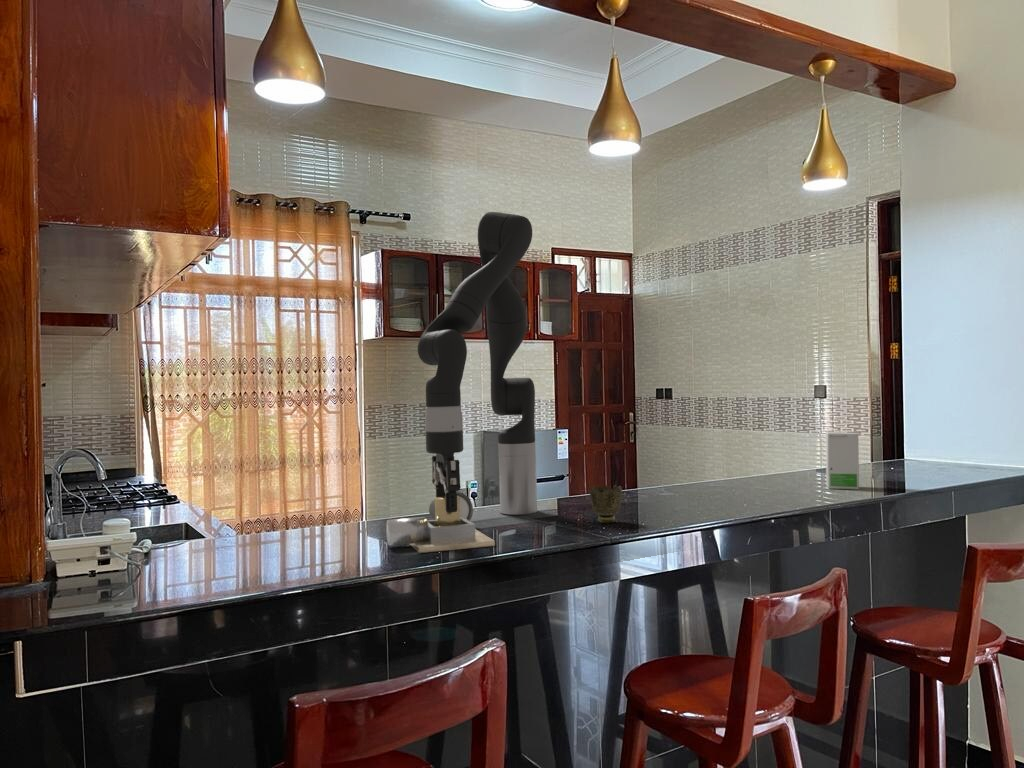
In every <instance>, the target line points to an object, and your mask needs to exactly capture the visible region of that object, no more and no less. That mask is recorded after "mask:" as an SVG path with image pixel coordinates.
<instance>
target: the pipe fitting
mask: <svg viewBox="0 0 1024 768" xmlns="http://www.w3.org/2000/svg"><path fill="white" fill-rule="evenodd" d="M450 485H453V484H450ZM434 489H435V490H436V489H437V488H435V487H434ZM457 496H458V497H460V518H463V517H464V518H465V519H467V520H469V521H470V522H471V519H472V517H473V514H474V508H473V503H472V500H471V498H470V497H469V496H468V495H467V494H465V493H463V492H459V491H458V493H457ZM428 512H429V513H428V514H429V515H430V518H431V520H436V519H435V498H434V499H433V500H431V503H430V504H429V508H428Z"/></svg>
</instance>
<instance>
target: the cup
mask: <svg viewBox="0 0 1024 768" xmlns="http://www.w3.org/2000/svg"><path fill="white" fill-rule="evenodd" d="M588 489H589V490H588V491H589V497H590V503H591V504H590V505H591V509H592V511H593V513H595V514H596V515H598V518H597V519H598V522H600V523H601V524H611V523H614V522H615V520H616V518H615V516H616V515H617V514H618V513H619V512H620V510H621V506H622V498H623V487H622V486H621V485H618V486H617V485H616V484H615V485H613V487H612V488H610V487H609V485H608V484H606V485H601V484H598V486H595V485H593V486H589V488H588Z"/></svg>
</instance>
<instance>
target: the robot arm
mask: <svg viewBox="0 0 1024 768" xmlns="http://www.w3.org/2000/svg"><path fill="white" fill-rule="evenodd" d="M532 238H533V226H532V223H531V221H530V220H529V218H527V216H524V215H518V214H516V213H515V214H514V213H505V212H499V211H487V212H485V213H484V214H482V215H481V217H480V220H479V221H478V226H477V245H478V252H479V257H480V264H481V268H479V269H477V270H476V271H475V272H473V273H472V274H470V275H468V276H467V277H466V278H464V280H463V281H462V282H460V284H459V285H458V286H457V287H456V289H455V291H454V292H453V294H452V295H451V297H450V299H449V301H448V302H447V304H446V306H445V307H444V310H442V311H441V313H439V314H438V315H437V316H436V317H435V318H434V320H433V321H432V322H431V323H430V324H429V325H428V326H427V327H426V329H424V331H423V333H422V334H421V336H420V337H419V341H418V343H417V355H418V357H419V359H420V360H421V361H422V362H423V364H425V365H428V366H436V367H437V368H436V373H435V376H433V377H430V378H429V379H428V380H427V381H426V384H425V417H424V420H425V421H424V422H425V450H426V451H425V452H427V453H428V454H431V455H432V454H433V455H432V457H431V467H432V468H431V470H432V473H431V475H432V478H431V479H432V480H431V482H432V484H433V486H434V489H435V488H437V489H435V498H436V497H441V496H445V504H446V512H448V513H450V512H456V511H457V493H458V492H459V491H460V490H461V474H460V472H461V471H460V470H461V469H460V460H459V459H455V454H457V453H458V454H459V453H461V452H463V451H464V426H463V425H464V424H463V421H464V419H463V412H462V406H461V405H462V403H461V401H462V398H461V397H462V396H461V395H462V394H461V383H462V380H463V375H464V372H465V366H466V361H467V354H468V347H467V343H466V340H465V337H464V336H463V335H462V334H465V333H467V332H469V331H470V330H472V329H473V327H474V326H475V325H476V324H477V322H478V319H479V318H480V316H481V314H482V313H483V310H484V309H486V313H485V315H486V329H487V338H488V348H489V360H490V404H491V408H492V411H493V413H494V414H495V415H498V416H521V419H520V420H519V422H517V423H516V424H514V425H512V426H510V427H508V428H505V429H503V430H500V431H499V432H498V433H497V447H498V477H499V512H500V513H501V514H504V515H517V516H518V515H519V516H520V515H530V514H535V513H538V486H537V483H538V482H537V481H538V480H537V459H536V458H537V454H536V451H537V450H536V432H535V431H536V429H535V411H536V410H535V409H536V403H535V402H536V389H535V383H534V380H533V379H532V378H530V377H507V378H505V377H504V376H505V374H506V373H505V372H506V369H507V367H508V365H509V363H510V361H511V359H512V357H513V356H514V354H515V353H516V352H517V351H518V349H520V348H519V347H520V346H521V345H522V343H523V342H524V339H525V337H526V334H527V313H526V312H527V311H526V305H525V302H524V300H523V298H522V296H521V294H520V292H519V291H518V289H517V288H516V286H515V284H514V283H513V281H512V279H511V277H510V276H509V274H511V273H512V271H513V270H514V268H516V266H518V263H519V262H520V261H521V260H522V259H523V257H524V256H525V255H526V253H527V252H528V250H529V248H530V246H531V244H532ZM435 454H436V455H435ZM450 484H453V485H450Z"/></svg>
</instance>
